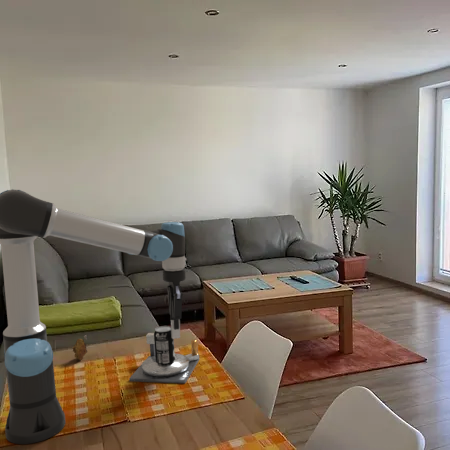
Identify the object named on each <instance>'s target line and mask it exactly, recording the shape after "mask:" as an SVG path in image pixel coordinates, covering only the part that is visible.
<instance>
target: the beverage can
mask: <svg viewBox="0 0 450 450" xmlns="http://www.w3.org/2000/svg"><path fill="white" fill-rule="evenodd" d="M153 333H154V343H155V357H156V362H157V363H158V364H159V365H170V364H172V363H173V362H174V360H175V354H176V351H175V339H172V338H171V325H170V326H169V325H161V326H158V327H155V328H154V332H153Z"/></svg>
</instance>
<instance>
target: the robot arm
mask: <svg viewBox="0 0 450 450" xmlns="http://www.w3.org/2000/svg"><path fill="white" fill-rule="evenodd" d="M48 236H51V237H55V238H59V239H63V240H68V241H73V242H77V243H82V244H86V245H89V246H90V245H92V246H95V247H98V248H99V247H100V248H105V249H109V250H111V251H112V250H113V251H118V252H122V253H125V254H128V255H130V256H132V255H133V256H134V255H135V256H139V257H142V258H147V259H151V260H152V261H155V262H161V263H162V264H161V266H162V269H163V270H162V280H163V282H165V283H168V285H167V286H166V288H167V289H166V290H167V299H168V311H169V312H168V314H169V315H170V318H169V319H170V320H169V321H170V327H171V338H172V339H174V340H175V339H181V319H182V315H183V314H182V313H183V311H182V309H183V307H182V305H183V296H184V294H183V292H182V290H183V289H182V285H181V284H180V283H181V282H183V281H184V282H185V280H186V278H187V277H186V269H185V267H186V262H187V259H188V258H187V257H186V255H185V253H186V250H185V248H186V247H185V244H186V241H185V238H186V237H185V226H184V224H183V223H182V222H179V221H171V222H170V221H168V222H162V223H161V226H160V228H159V229H149V230H146V229H145V230H143V229H140V228H139V229H138V228H136V227H131V226H127V225H124V224H121V223H116V222H112V221H107V220H104V219H101V218H96V217H93V216H89V215H85V214H81V213H77V212H73V211H69V210H65V209H62V208H57V207H56V205H55V204H54V203H53V202H49V201H46V200H43V199H40V198H38V197H35V196H33V195H31V194H30V193H28V192H25V191H24V190H21V189H13V188H12V189H7V190H4V191H2V192H0V249H1V259H2V271H3V272H2V274H3V282H4V283H3V284H4V293H5V305H6V307H5V308H6V315H7V316H6V317H7V327H6V328H5V329H4V330H3V332H2V336H3V338H2V339H3V349H4V350H3V355H4V367H5V370H6V380H7V381H6V382H7V389H8V391H7V392H8V400H9V409H8V415H7V418H6V423H5V427H4V429H5V430H4V432H5V437H6V438H5V439H6V440H7V441H8V442H10V443H12V444H16V445H29V444H35V443H39V442H42V441H45V440H48V439H50V438H52V437H53V436H56V435H58V434H59V433H60V432H61V431H63V429H64V427H65V425H66V414H65V412H64V410H63V408H62V406H61V403H60V401H59V400H58V397H57V391H56V389H57V388H56V381H55V368H54V351H53V350H52V349H53V348H52V346H51V344H50V342H49V341H48V334H47V326H46V324H45V323H43V322H42V321H41V318H40V308H39V307H40V306H39V293H38V281H37V266H36V259H35V258H36V257H35V246H34V242H35V240H36V239H37V238H42V239H43V238H44V239H45V238H47V237H48Z"/></svg>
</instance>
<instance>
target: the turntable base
mask: <svg viewBox="0 0 450 450" xmlns="http://www.w3.org/2000/svg"><path fill="white" fill-rule="evenodd" d="M145 337H146V344H148V345H149V353H150V355H148V356H147V357H146V359H148V358H150V357H152V356H155V343H154V332H148V333H147V334H146V335H145ZM199 361H200V358H199V359H196V360H192V361H189V367H188V368H187V369H186V370H185V371H183V372H181V373H178V374H175V375H171V376H161V377H160V376H151V375H147V374H145V373H144V372H143V370H142V363H141V365H139V366H138V368H137V369H136V370H135V371H134V372H133V374H131V375H130V377H129V378H128V379H129V382H136V383H137V382H139V383H140V382H142V383H145V382H146V383H162V384H163V383H166V384H186V383H187V381H188V380H189V377H190V376H191V375H192V373H193V371H194V370H195V368H196V366H197V364H198V363H199Z"/></svg>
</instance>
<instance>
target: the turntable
mask: <svg viewBox="0 0 450 450" xmlns="http://www.w3.org/2000/svg"><path fill="white" fill-rule="evenodd" d="M190 343H191V344H190V345H191V353H189V354H185V355H184V354H180V353H175V360H174V362H173V363H172V364H170V365H159V364H158V363H157V362H156V357H155V356H152V357H150V358H148V357H147V358H148V359H147V358H146V359H145V360H143V362H142V363H141V364H142V370H143V372H144V373H145V374H147V375H151V376H160V377H161V376H171V375H175V374H178V373H181V372H183V371H185V370H186V369H187V368H188V367H189V361H192V360H196V359H199V360H200V354H199V349H198V348H199V345H198V339H191V340H190Z"/></svg>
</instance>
